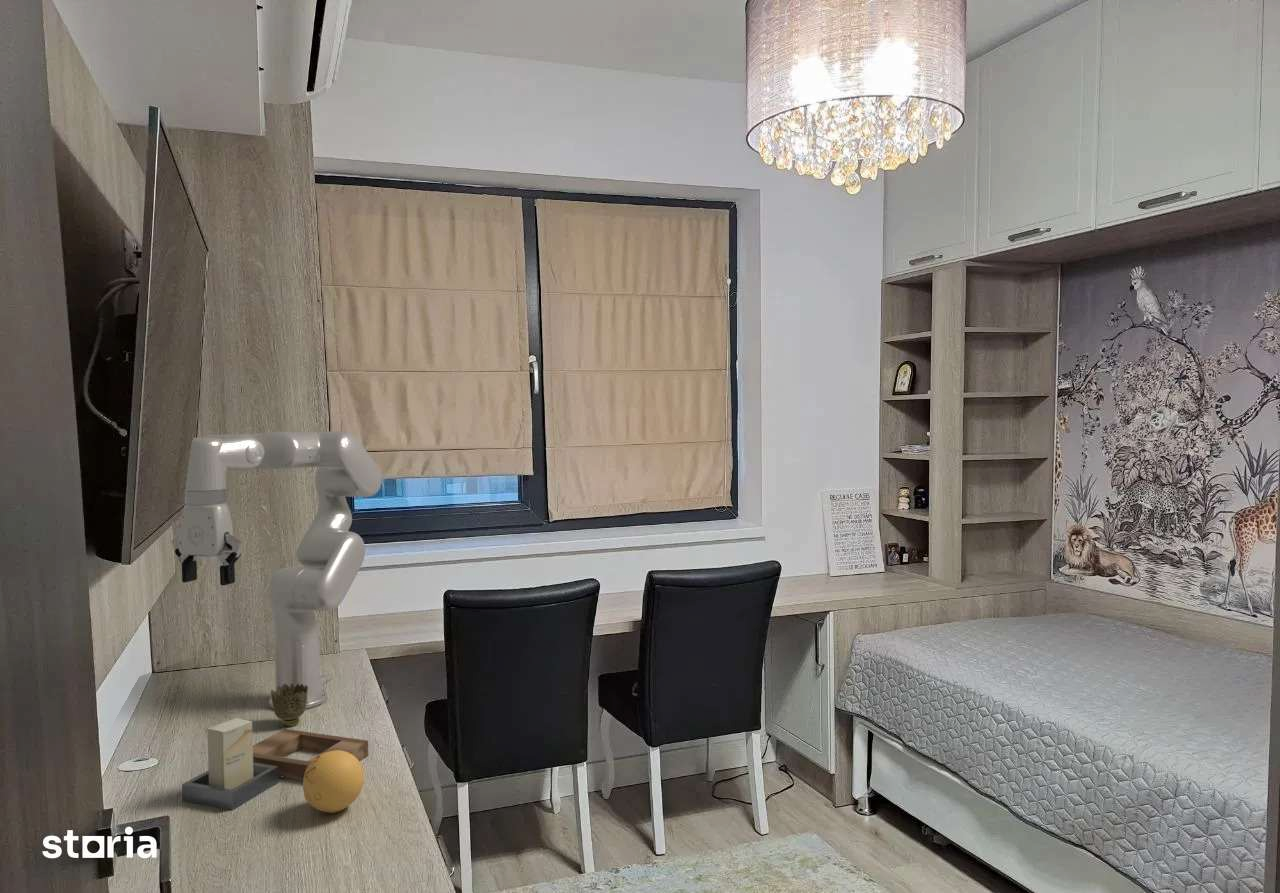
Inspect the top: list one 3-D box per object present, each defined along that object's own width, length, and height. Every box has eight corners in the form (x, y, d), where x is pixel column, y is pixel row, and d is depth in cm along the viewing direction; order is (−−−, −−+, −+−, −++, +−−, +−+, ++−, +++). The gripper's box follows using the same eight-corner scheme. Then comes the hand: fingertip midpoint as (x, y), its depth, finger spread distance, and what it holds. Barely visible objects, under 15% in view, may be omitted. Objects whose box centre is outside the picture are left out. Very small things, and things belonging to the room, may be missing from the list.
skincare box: (224, 800, 148) (221, 732, 147) (207, 795, 150) (205, 728, 149) (255, 786, 153) (253, 720, 152) (239, 781, 155) (237, 716, 155)
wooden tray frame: (285, 743, 172) (285, 728, 172) (368, 755, 166) (368, 740, 166) (236, 769, 160) (236, 754, 160) (324, 784, 154) (324, 767, 154)
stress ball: (371, 807, 147) (353, 757, 152) (372, 782, 140) (354, 730, 146) (311, 831, 142) (296, 779, 147) (309, 806, 135) (293, 752, 141)
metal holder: (230, 774, 158) (230, 758, 158) (278, 782, 155) (278, 766, 154) (182, 800, 148) (181, 784, 147) (232, 810, 144) (232, 793, 144)
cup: (295, 732, 178) (294, 695, 178) (264, 729, 179) (263, 693, 179) (315, 719, 185) (314, 683, 185) (285, 717, 187) (284, 681, 186)
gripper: (156, 499, 169) (159, 583, 170) (225, 502, 163) (228, 589, 164) (187, 495, 176) (190, 576, 177) (254, 498, 171) (256, 581, 172)
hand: (208, 582), depth 171 cm, fingers open, 9 cm apart
